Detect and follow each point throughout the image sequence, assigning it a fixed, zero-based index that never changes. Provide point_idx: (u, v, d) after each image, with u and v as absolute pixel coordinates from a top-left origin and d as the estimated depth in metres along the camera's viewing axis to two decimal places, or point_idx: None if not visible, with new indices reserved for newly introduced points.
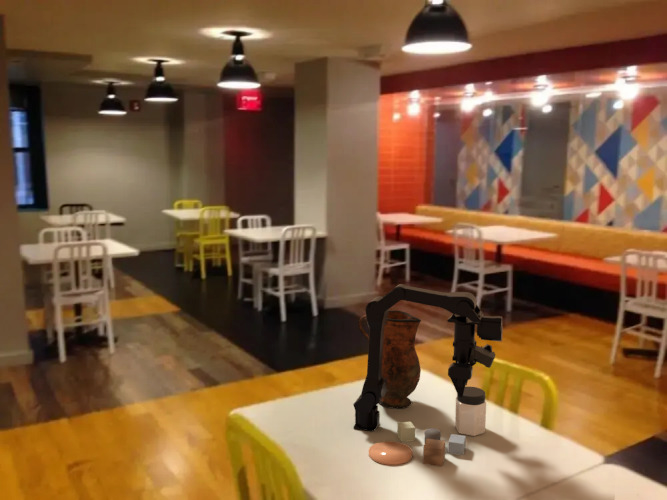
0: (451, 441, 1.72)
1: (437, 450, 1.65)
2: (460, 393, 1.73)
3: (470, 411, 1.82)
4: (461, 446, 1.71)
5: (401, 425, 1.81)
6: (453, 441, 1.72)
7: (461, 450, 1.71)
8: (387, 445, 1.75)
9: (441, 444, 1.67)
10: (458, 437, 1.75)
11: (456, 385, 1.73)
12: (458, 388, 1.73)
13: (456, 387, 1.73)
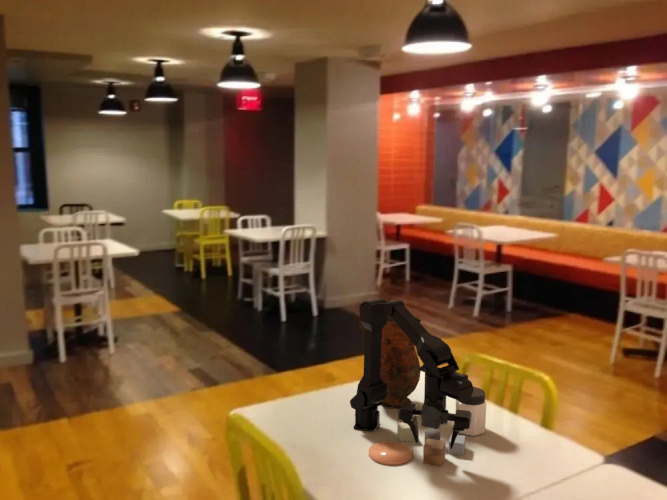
0: None
1: (437, 450, 1.65)
2: None
3: (470, 411, 1.81)
4: (461, 446, 1.71)
5: (401, 425, 1.81)
6: None
7: (461, 450, 1.71)
8: (387, 445, 1.75)
9: (441, 444, 1.67)
10: (458, 437, 1.75)
11: None
12: None
13: None
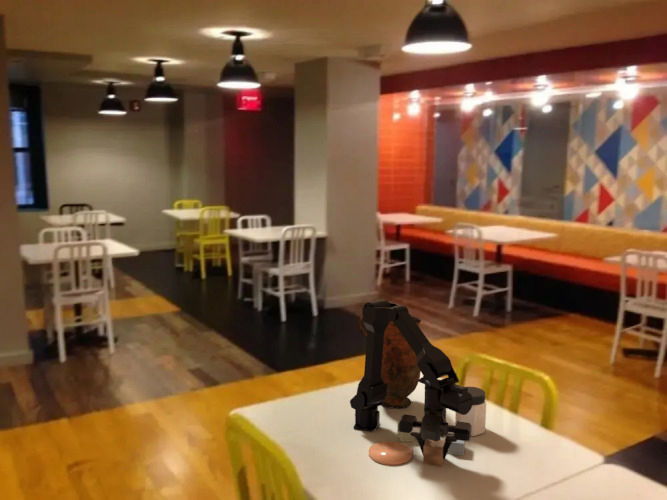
0: None
1: (437, 450, 1.65)
2: None
3: (470, 411, 1.82)
4: (461, 446, 1.71)
5: None
6: None
7: (461, 450, 1.71)
8: (387, 445, 1.75)
9: (441, 443, 1.67)
10: None
11: None
12: None
13: None
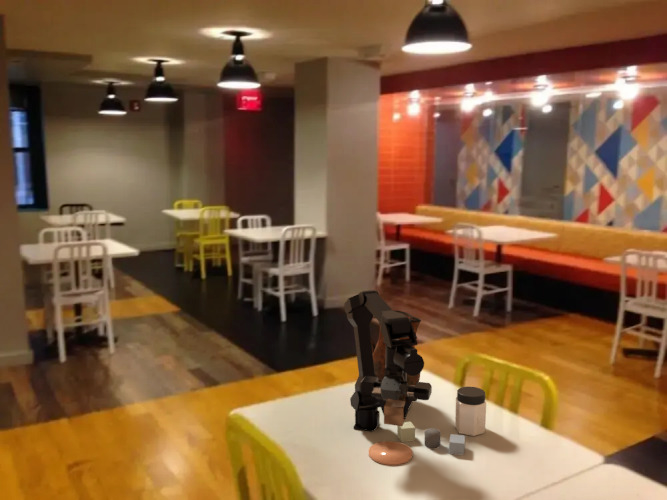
0: (452, 441, 1.72)
1: (397, 409, 1.67)
2: None
3: (470, 411, 1.82)
4: (462, 446, 1.71)
5: None
6: (454, 441, 1.72)
7: (462, 450, 1.71)
8: (387, 445, 1.75)
9: (401, 404, 1.69)
10: (458, 437, 1.75)
11: None
12: None
13: None
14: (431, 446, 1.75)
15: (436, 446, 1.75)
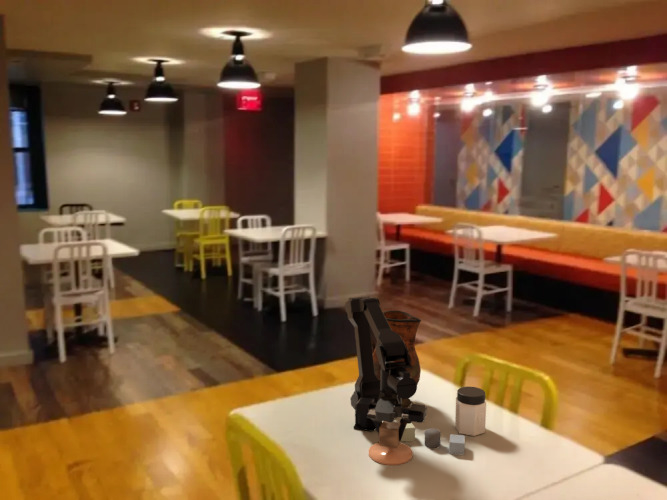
0: (452, 441, 1.72)
1: (392, 431, 1.68)
2: None
3: (470, 411, 1.82)
4: (462, 446, 1.71)
5: None
6: (454, 441, 1.72)
7: (462, 450, 1.71)
8: None
9: (397, 425, 1.70)
10: (458, 437, 1.75)
11: None
12: None
13: None
14: (431, 446, 1.75)
15: (436, 446, 1.75)
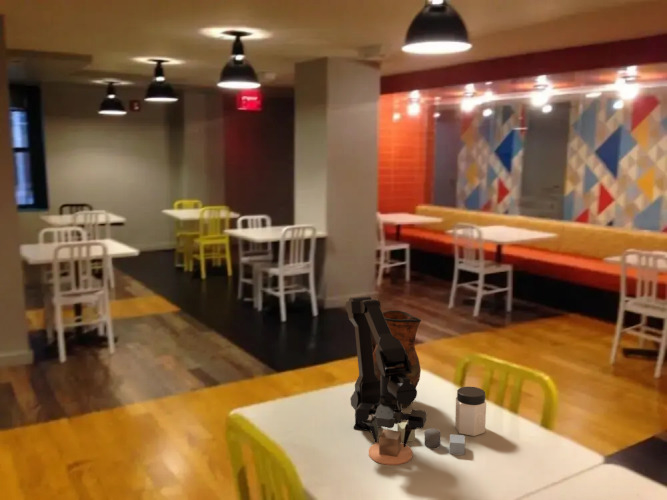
0: (452, 441, 1.72)
1: (392, 440, 1.68)
2: None
3: (470, 411, 1.82)
4: (462, 446, 1.71)
5: (401, 425, 1.81)
6: (454, 441, 1.72)
7: (462, 450, 1.71)
8: None
9: (397, 434, 1.71)
10: (458, 437, 1.75)
11: None
12: None
13: None
14: (431, 446, 1.75)
15: (436, 446, 1.75)
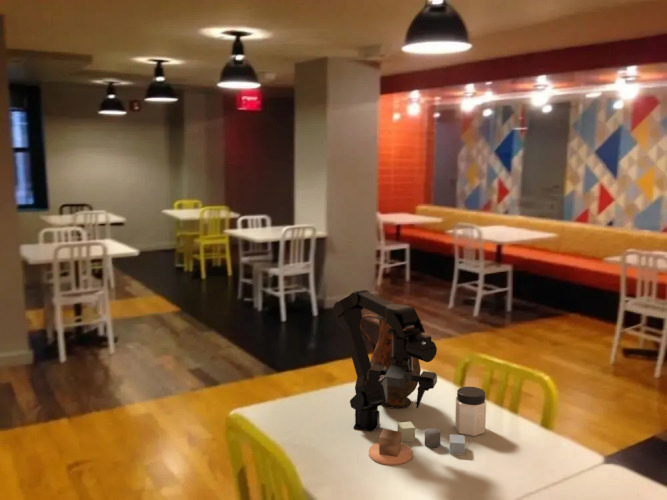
0: (452, 441, 1.72)
1: (392, 440, 1.68)
2: None
3: (470, 411, 1.82)
4: (462, 446, 1.71)
5: (401, 425, 1.81)
6: (454, 441, 1.72)
7: (462, 450, 1.71)
8: None
9: (396, 434, 1.71)
10: (458, 437, 1.75)
11: None
12: None
13: None
14: (431, 446, 1.75)
15: (436, 446, 1.75)
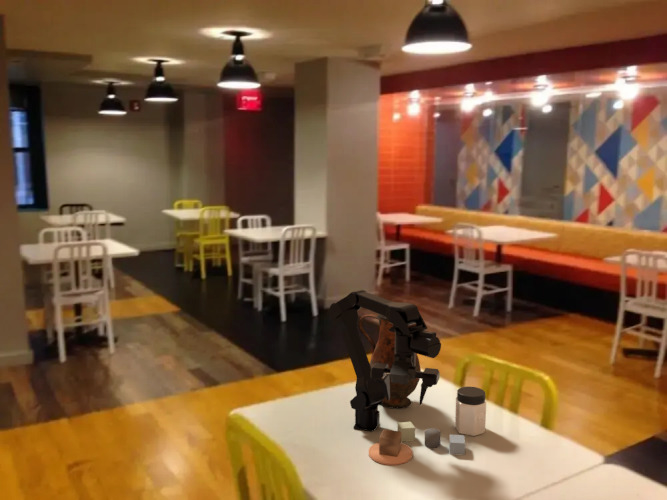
0: (452, 441, 1.72)
1: (392, 440, 1.68)
2: None
3: (470, 411, 1.82)
4: (463, 446, 1.71)
5: (401, 425, 1.81)
6: (454, 441, 1.72)
7: (463, 450, 1.71)
8: None
9: (397, 434, 1.71)
10: (458, 437, 1.75)
11: None
12: None
13: None
14: (431, 446, 1.75)
15: (436, 446, 1.75)
